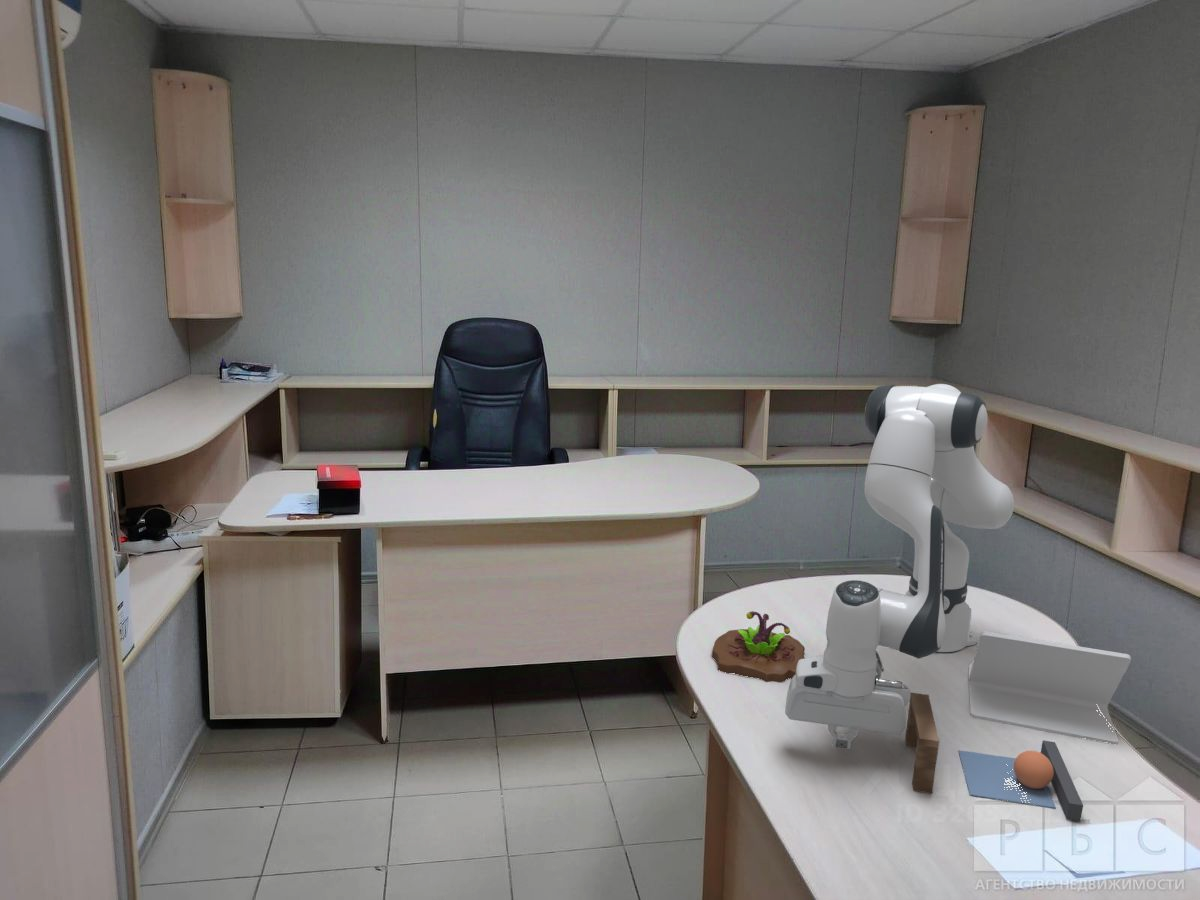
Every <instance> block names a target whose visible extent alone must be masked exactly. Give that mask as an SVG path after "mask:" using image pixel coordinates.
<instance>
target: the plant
mask: <svg viewBox="0 0 1200 900" xmlns="http://www.w3.org/2000/svg"><path fill="white" fill-rule="evenodd" d="M755 616H757V617H758V622H759V624H758V626H757V627H756V628H755V629H754V628H752V627H751V626H749V627H748V628H745V629H744V628H739V629H733V630H732V629H731V630H728V631H727V632H725V633H724V634H721V635H720V636H718V637H717V638H716V640H715V641H714V644H713V647H712V655H711V656H712V657H713V658H714V659H715V660H716V661H715V660H714V659H713V658H712V659H713V660H714V661H715V662H716V664H717V671H719V670H720V671H719V672H722V671H723V672H722V673H725V672H726V673H725V674H729V673H735V674H734V675H736V674H739V675H738V676H740V675H743V676H748V677H747V678H750V677H753V678H752V679H757V678H759V679H758V680H761V679H762V680H761V681H763V680H764V682H765V683H769V682H777V683H784V682H786V681H787V680H791V679H790V678H793V676H794V675H796V667H797V663H798V661H799V660H800V659H804V658H805V646H804V645H803V644H802V643H801V642H800V641H799V640H798V639H796V638H794V637H793V636H791V635H790V633H791V629H790V627H789V626H787V624H785V623H782V622H775V623H773V624H771V625H769V626H768V627H767V621H769V620H770V616H769V614H768V613H764V614H763V615H761V613H759V612H758V611H753V610H752V611H749V612H747V613H746V618H747V619H748V620H752V619H754V617H755ZM779 626H782V627H783V628H784V629H783V633H781V632H780V633H775V632H772V631H773V630H774V629H775V628H776V627H779ZM743 676H742V677H743ZM788 678H789V679H788ZM786 679H787V680H786ZM785 680H786V681H785ZM783 681H784V682H783Z"/></svg>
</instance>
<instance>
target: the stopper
mask: <svg viewBox="0 0 1200 900" xmlns="http://www.w3.org/2000/svg"><path fill="white" fill-rule="evenodd" d="M1040 753H1042V754H1043V755H1045V756H1046V757H1047V758H1048V759H1049V760H1050V762H1051V764H1052V766H1053V771H1054V774H1053V778H1052V781H1051V782H1050V783H1051V785H1052V788H1053V790H1054V793H1055V796H1056V797H1057V799H1058V802H1059V805H1060V808H1061V810H1062V812H1063V814H1064V815H1063V816H1064V817H1065V819H1066V820H1067V821H1072V822H1079V823H1080V822H1081V819H1082V814H1083V809H1084V804H1083V802H1082V799H1081V797H1080V795H1079V793H1078V790H1077V788H1076V786H1075V784H1074V782H1073V779H1072V777H1071V775H1070V773H1069V771H1068V768H1067V765H1066V763H1065V762H1064V759H1063V757H1062V755H1061V753H1060V751H1059V748H1058V745H1057V743H1056V742H1055V741H1051V740H1042V741H1041V749H1040Z"/></svg>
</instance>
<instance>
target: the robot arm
mask: <svg viewBox="0 0 1200 900" xmlns="http://www.w3.org/2000/svg"><path fill="white" fill-rule="evenodd" d="M864 422H865V427H866V428H867V430H868V431H869V433H870V434H871V435H872V436H874V437H875V439H874V441H873V444H872V445H873V446H872V449H871V453H870V456H869V460H868V463H867V468H866V471H865V472H866V473H865V478H864V490H863V491H864V496H865V499H866V501H867V502H868V503H867V504H868V505H869V506H870V508H871V509H872V510H873V511H874V512H876V513H877V515H879V516H880V517H882V518H883V519H884V520H886V521H888V522H889V523H891V524H892V525H894V526H896V527H898V528H899V529H901V530H902V531H904V532H905V533H907V534H908V535H909V536H910V537H911V538H912V539H913V541H914V561H913V572H912V574H911V575H910V578H909V581H908V582H909V583H908V590H907V591H906V593H905V594H903V593H899V592H894V591H890V590H886V589H883V588H880V587H876V586H875V585H873V584H872V583H870V582H867V581H863V580H858V579H856V580H855V579H853V580H852V579H851V580H845V581H843V582H841V583H839V584H838V585H836V587H835V588H834V591H833V593H832V597H831V600H830V603H829V608H828V613H827V620H826V629H825V637H826V642H827V643H826V647H825V650H824V652H823V654H822V655H818V656H812V657H804V659H800V660H799V661H798V663H797V667H796V675H794V676H793V678H792V679H790V683H789V685H788V690H787V695H786V701H785V711H784V714H785V715H786V717H787V718H788V719H789V720H791V721H800V722H808V723H811V724H812V723H813V724H820V725H827V729H828V731H829V734H830V736H831V737H832V748H833V747H834V748H840V749H848V750H850V749H851V743H852V741H853V740H854V739H855V738H856V737H857V736H858V735H859V732H860V731H859V730H861V731H862V730H863V731H870V732H877V733H884V734H891V735H896V736H897V735H898V736H899V735H901V734H903V733H904V732H906V728H907V714H906V707H907V706H908V705H909V704H910V696H911V692H912V691H911V689H910V687H908V685H906V684H904V683H903V682H902V681H899V680H889V679H885V678H880V679H879V678H875V677H876V674H877V673H876V668H877V657H876V650H877V647H878V646H881V647H885V648H888V649H892V650H896V651H899V652H900V653H903V654H906V655H908V656H911V657H913V658H916V659H923V658H925V657H929V656H931V655H932V654H935V653H937V652H938V653H951V652H957V651H960V650H963V649H964V648H967V647H969V646H974V645H976V644H977V638H976V636H974V634H973V633H972V632H971V623H972V622H971V619H972V608H971V607H970V605H969V604H968V603H967V602H966V599H967V595H968V583H967V577H968V570H969V569H968V568H969V562H970V552H969V551H970V550H969V549H968V546H967V545H966V544H965V542H964V541H963V540H962V538H959V537H958V536H957V535H955V534H954V533H953V532H952V531H951V529H950V528H949V526H948V524H947V523H951V524H955V525H960V526H965V527H967V528H968V527H969V528H973V529H987V530H988V529H990V530H991V529H996V530H998V529H1000V528H1002V527H1003V526H1004V525H1006V524H1007V523H1008V522H1009V520H1010V519H1011V517H1012V515H1013V513H1014V510H1015V498H1014V495H1013V492H1012V491H1011V489H1010V487H1009V486H1008V485H1007V484H1005V483H1003V481H1000V480H999V479H997V478H995V476H993V475H992V474H991V473H990V472H989V471H988V469H986V468H985V467H984V466H983V465H982V463H981V462H980V460H979V459H978V457H977V454H976V452H975V445H977V444H978V443H979V442H980V441H981V439H982V438H983V435H984V433H985V431H986V429H987V425H988V412H987V405H986V402H985V401H984V400H983V399H982V398H981V397H980V396H979V395H977V394H976V393H972V392H968V391H966V390H964V391H961V390H959V388H956V387H954V386H952V385H950V384H946V383H935V384H932V385H929V386H915V385H907V386H906V385H901V386H899V385H898V386H897V385H896V384H885V385H879V386H877V387H876V388H875V389H873V390H872V391H871V393H870V394H869V396H868V398H867V401H866V403H865V408H864ZM838 727H842V728H848V729H849V732H848V733H846V734H841V733H838V732H837V728H838Z"/></svg>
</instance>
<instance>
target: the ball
mask: <svg viewBox="0 0 1200 900" xmlns="http://www.w3.org/2000/svg"><path fill="white" fill-rule="evenodd" d="M1014 772H1015V775H1016V777H1017V779H1018V780H1019V781H1020V782H1021V783H1022V784H1024V785H1025V786H1027V787H1029V788H1034V789H1039V788H1043V787H1045V786H1047V787H1048V786H1049V785H1050V783H1051V781H1052V778H1053V774H1054V771H1053V766H1052V764H1051V762H1050V760H1049V759H1048V758H1047V757H1046V756H1045V755H1043V754H1042V753H1041V751H1040V752H1039V751H1037V750H1025V751H1022V752H1021V753H1019V754H1018V755H1017V756H1016V759H1015V762H1014Z"/></svg>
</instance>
